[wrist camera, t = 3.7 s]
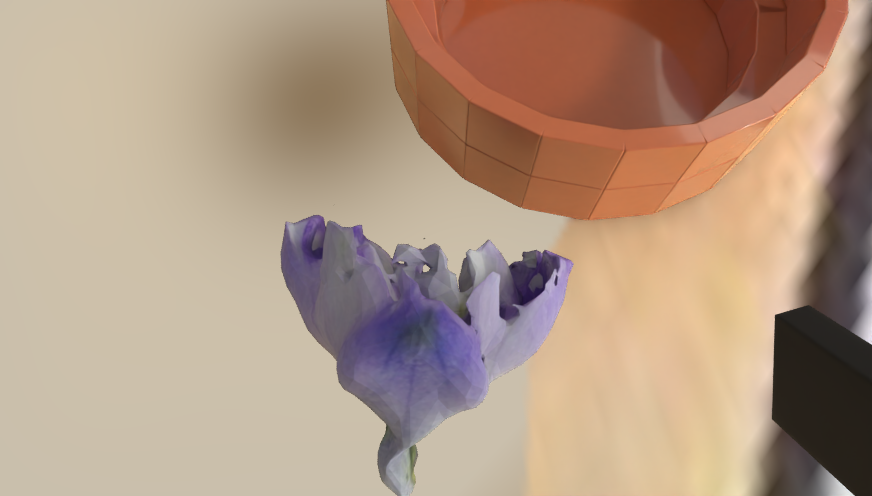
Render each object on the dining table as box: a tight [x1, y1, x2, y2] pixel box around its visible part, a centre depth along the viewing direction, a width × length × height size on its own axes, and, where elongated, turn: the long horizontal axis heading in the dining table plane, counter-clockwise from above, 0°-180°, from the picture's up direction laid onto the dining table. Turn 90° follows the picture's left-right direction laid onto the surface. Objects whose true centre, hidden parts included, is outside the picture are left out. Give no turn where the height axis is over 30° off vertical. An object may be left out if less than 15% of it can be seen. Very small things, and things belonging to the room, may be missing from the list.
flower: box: [281, 215, 573, 496], centre depth 20 cm, size 9×9×10 cm
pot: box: [386, 0, 849, 220], centre depth 25 cm, size 17×17×6 cm
